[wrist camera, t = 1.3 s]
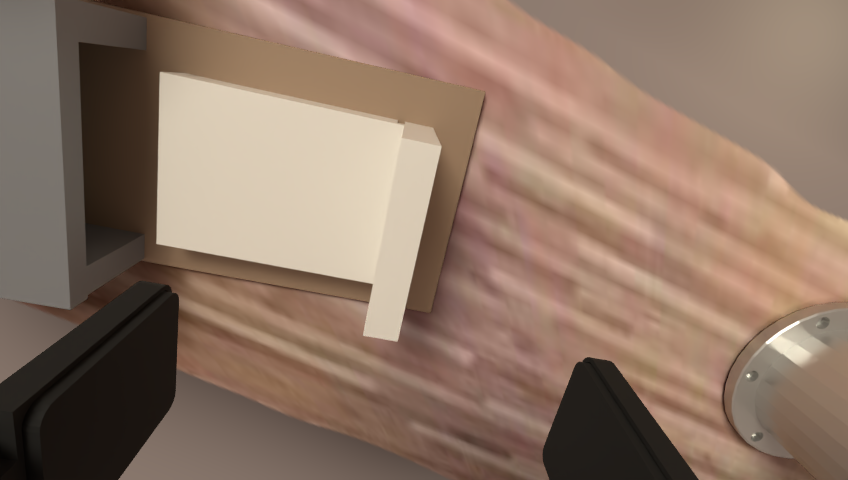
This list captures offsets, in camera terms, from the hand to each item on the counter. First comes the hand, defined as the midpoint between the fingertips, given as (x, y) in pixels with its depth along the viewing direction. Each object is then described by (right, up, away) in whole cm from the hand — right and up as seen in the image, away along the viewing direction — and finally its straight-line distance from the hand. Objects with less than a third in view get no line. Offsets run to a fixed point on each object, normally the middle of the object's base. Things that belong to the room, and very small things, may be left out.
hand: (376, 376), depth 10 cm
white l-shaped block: (-7, +7, +15) cm, 18 cm away
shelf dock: (-10, +8, +16) cm, 20 cm away
